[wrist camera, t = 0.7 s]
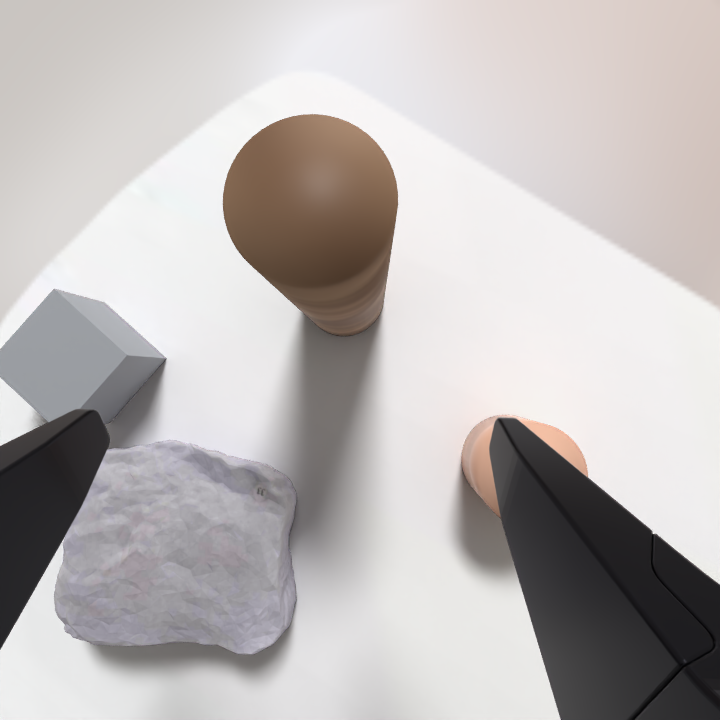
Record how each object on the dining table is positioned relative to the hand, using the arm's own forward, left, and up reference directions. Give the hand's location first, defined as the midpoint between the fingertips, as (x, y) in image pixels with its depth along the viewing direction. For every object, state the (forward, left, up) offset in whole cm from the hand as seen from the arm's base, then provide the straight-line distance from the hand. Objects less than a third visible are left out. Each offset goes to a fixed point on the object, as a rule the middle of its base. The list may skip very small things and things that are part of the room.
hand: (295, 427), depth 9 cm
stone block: (-11, +1, -15) cm, 18 cm away
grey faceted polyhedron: (-8, +12, -14) cm, 20 cm away
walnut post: (+4, +4, -14) cm, 15 cm away
